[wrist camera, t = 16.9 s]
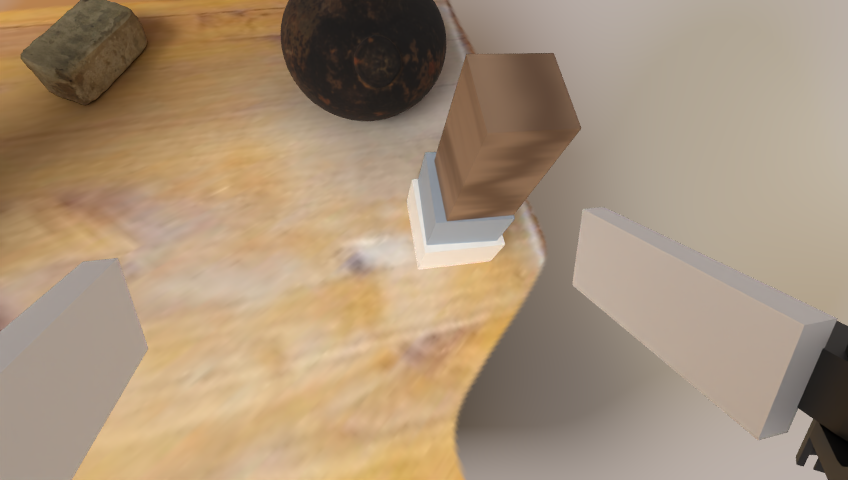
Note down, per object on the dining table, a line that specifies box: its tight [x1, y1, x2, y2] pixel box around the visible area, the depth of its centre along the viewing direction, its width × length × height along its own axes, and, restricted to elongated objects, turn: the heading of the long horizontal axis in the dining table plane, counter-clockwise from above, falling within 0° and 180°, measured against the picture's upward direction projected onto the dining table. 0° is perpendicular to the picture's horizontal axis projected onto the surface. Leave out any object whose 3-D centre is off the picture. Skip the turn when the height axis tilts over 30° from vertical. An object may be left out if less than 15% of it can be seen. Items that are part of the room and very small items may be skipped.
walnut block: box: [434, 53, 581, 221], centre depth 31 cm, size 6×6×12 cm
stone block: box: [21, 0, 147, 105], centre depth 45 cm, size 6×12×5 cm, turn 161°
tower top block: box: [418, 152, 515, 245], centre depth 39 cm, size 7×7×5 cm
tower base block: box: [407, 179, 505, 270], centre depth 43 cm, size 8×8×5 cm
